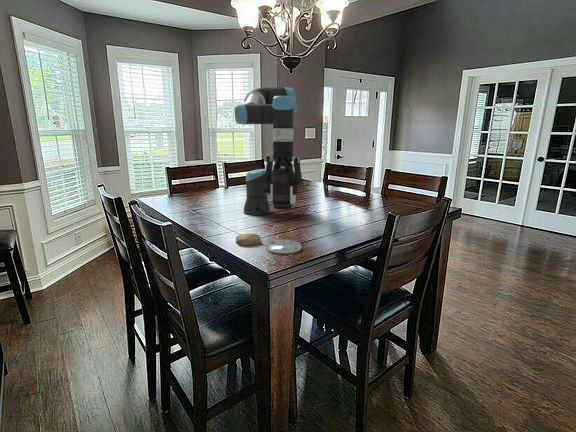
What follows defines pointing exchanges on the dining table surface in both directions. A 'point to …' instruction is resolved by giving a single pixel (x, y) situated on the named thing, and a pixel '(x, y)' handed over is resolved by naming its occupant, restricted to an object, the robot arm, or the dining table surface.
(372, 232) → the dining table surface
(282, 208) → the camera lens
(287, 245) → the mount flange
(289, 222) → the dining table surface
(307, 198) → the dining table surface
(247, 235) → the walnut coaster
